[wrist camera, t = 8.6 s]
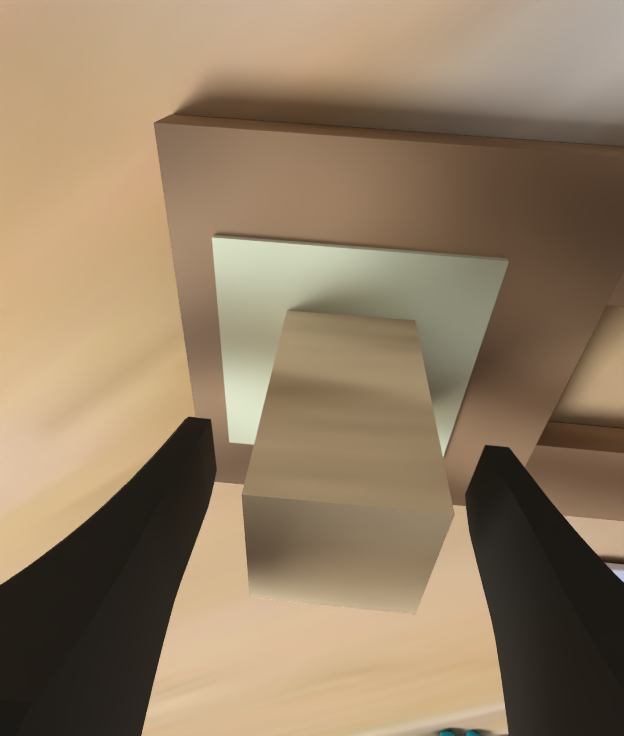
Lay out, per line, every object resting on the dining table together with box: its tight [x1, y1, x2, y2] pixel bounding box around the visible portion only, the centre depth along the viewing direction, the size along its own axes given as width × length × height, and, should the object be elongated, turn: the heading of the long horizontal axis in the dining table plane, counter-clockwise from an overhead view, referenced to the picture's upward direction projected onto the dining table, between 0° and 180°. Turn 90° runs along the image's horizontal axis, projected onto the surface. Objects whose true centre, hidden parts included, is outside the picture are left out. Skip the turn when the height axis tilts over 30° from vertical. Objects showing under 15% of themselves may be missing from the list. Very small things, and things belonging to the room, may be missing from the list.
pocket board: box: [154, 114, 624, 521], centre depth 16 cm, size 14×22×2 cm, turn 87°
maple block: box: [242, 310, 454, 614], centre depth 12 cm, size 4×4×7 cm
